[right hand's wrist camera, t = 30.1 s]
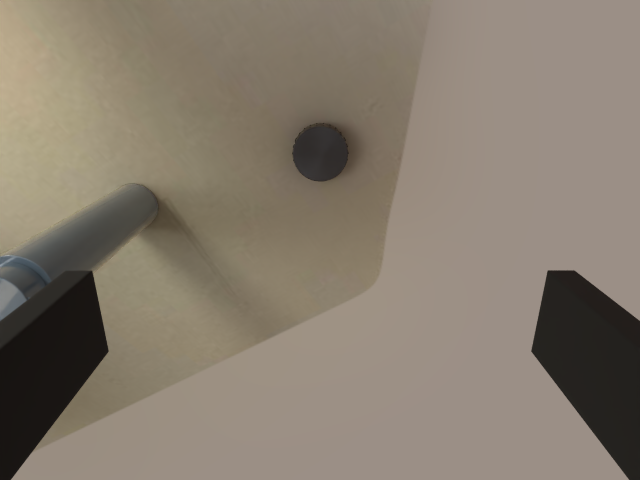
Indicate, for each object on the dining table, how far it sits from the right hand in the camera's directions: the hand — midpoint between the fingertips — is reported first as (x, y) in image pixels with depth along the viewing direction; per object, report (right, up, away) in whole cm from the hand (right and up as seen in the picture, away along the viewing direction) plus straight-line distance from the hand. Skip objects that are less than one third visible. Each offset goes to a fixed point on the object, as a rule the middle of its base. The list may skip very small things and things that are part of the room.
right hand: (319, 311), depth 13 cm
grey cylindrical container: (-18, +6, +30) cm, 36 cm away
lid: (0, +10, +27) cm, 29 cm away
